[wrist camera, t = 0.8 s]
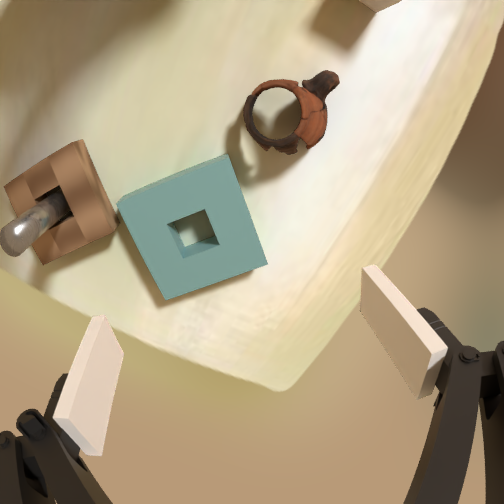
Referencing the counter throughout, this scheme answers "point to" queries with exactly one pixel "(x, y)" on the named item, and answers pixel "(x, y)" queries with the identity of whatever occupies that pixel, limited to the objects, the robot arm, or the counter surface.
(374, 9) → the white box
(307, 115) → the brown ring with knob
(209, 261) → the dock socket
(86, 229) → the pin mount
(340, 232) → the counter surface
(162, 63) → the counter surface
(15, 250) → the pin
